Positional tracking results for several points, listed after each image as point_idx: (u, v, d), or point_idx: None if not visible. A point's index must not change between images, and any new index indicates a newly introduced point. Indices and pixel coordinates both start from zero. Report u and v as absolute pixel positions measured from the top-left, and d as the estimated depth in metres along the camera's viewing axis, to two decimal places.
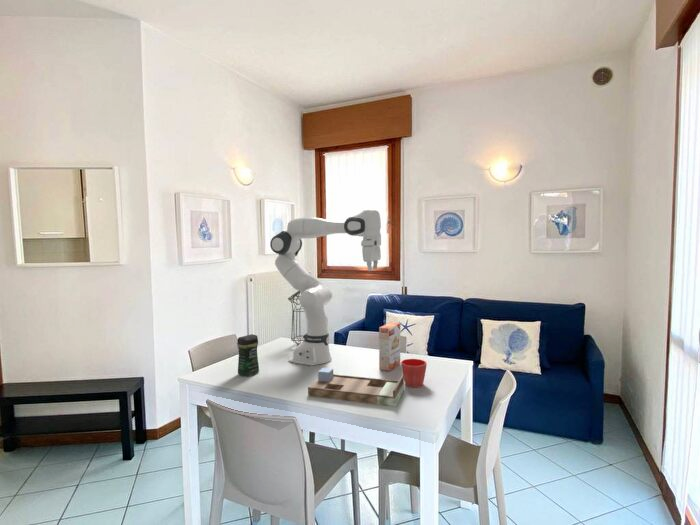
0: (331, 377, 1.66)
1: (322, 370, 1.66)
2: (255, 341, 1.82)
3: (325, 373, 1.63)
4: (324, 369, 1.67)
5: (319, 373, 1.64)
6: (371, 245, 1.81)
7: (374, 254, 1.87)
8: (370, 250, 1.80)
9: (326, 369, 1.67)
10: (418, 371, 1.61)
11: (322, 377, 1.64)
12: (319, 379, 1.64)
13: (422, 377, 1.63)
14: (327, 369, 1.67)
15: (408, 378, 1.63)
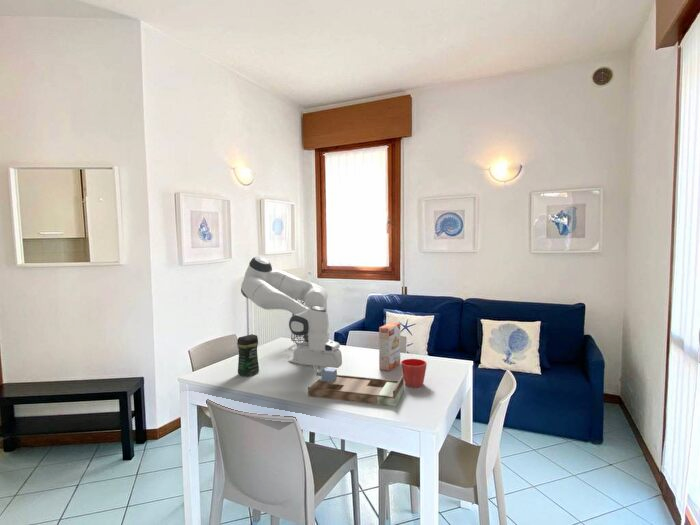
0: (334, 377, 1.65)
1: (325, 370, 1.65)
2: (255, 341, 1.82)
3: (328, 373, 1.63)
4: (327, 370, 1.66)
5: (322, 373, 1.64)
6: (338, 347, 1.65)
7: None
8: (340, 353, 1.65)
9: (329, 369, 1.66)
10: (418, 371, 1.61)
11: (326, 378, 1.63)
12: (322, 379, 1.64)
13: (422, 377, 1.63)
14: (330, 369, 1.67)
15: (408, 378, 1.63)
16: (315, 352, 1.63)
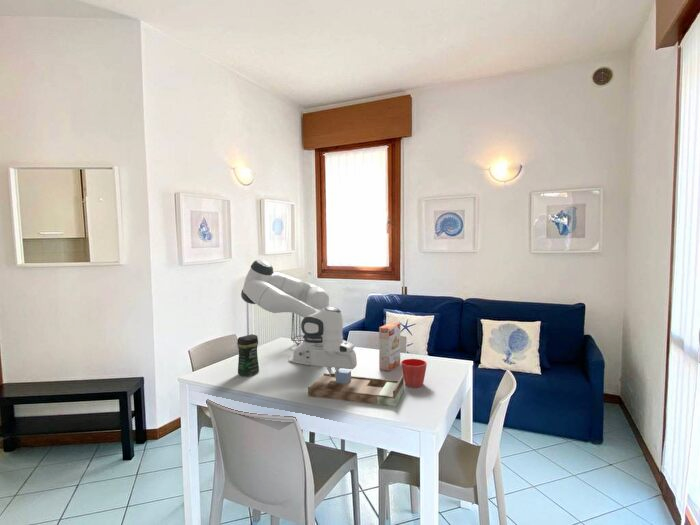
0: (349, 379, 1.63)
1: (340, 372, 1.63)
2: (255, 341, 1.82)
3: (343, 375, 1.61)
4: (341, 371, 1.64)
5: (336, 375, 1.62)
6: (353, 348, 1.63)
7: None
8: (355, 354, 1.63)
9: (343, 371, 1.64)
10: (418, 371, 1.61)
11: (340, 379, 1.61)
12: (337, 381, 1.62)
13: (422, 377, 1.63)
14: (345, 370, 1.65)
15: (408, 378, 1.63)
16: (329, 353, 1.61)
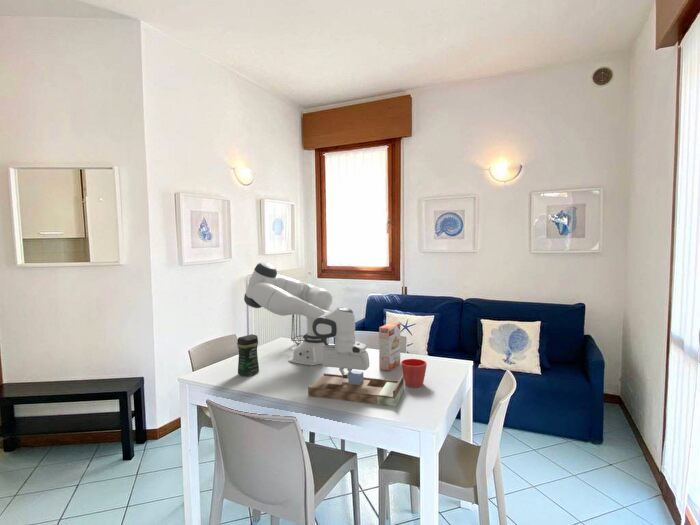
0: (361, 380, 1.61)
1: (352, 373, 1.61)
2: (255, 341, 1.82)
3: (355, 376, 1.59)
4: (354, 372, 1.62)
5: (349, 376, 1.60)
6: None
7: None
8: None
9: (356, 372, 1.62)
10: (418, 371, 1.61)
11: (353, 380, 1.60)
12: (349, 382, 1.60)
13: (422, 377, 1.63)
14: (357, 371, 1.63)
15: (408, 378, 1.63)
16: (342, 354, 1.60)
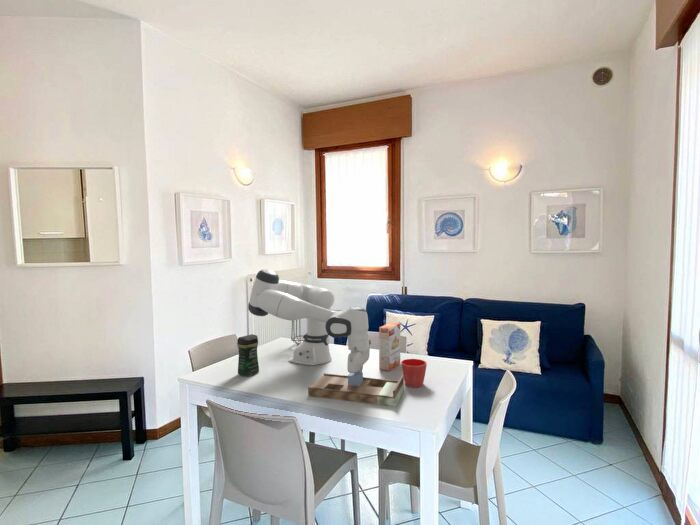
0: (361, 381, 1.60)
1: (351, 374, 1.60)
2: (255, 341, 1.82)
3: (355, 377, 1.58)
4: (353, 373, 1.61)
5: (348, 377, 1.59)
6: None
7: None
8: None
9: (355, 373, 1.61)
10: (418, 371, 1.61)
11: (352, 381, 1.58)
12: (349, 383, 1.59)
13: (422, 377, 1.63)
14: (356, 372, 1.62)
15: (408, 378, 1.63)
16: (365, 351, 1.63)
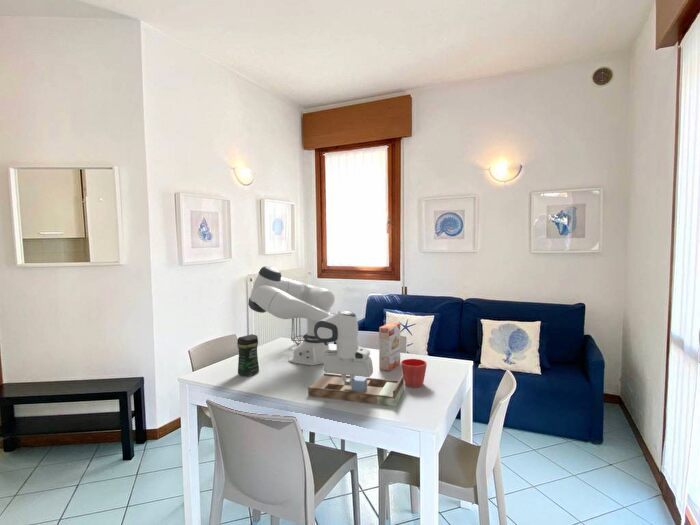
0: (365, 387, 1.54)
1: (355, 379, 1.54)
2: (255, 341, 1.82)
3: (359, 383, 1.51)
4: (357, 378, 1.55)
5: (352, 383, 1.52)
6: None
7: None
8: (371, 361, 1.53)
9: (359, 378, 1.55)
10: (418, 371, 1.61)
11: (356, 387, 1.52)
12: (352, 389, 1.53)
13: (422, 377, 1.63)
14: (360, 378, 1.55)
15: (408, 378, 1.63)
16: (344, 360, 1.52)
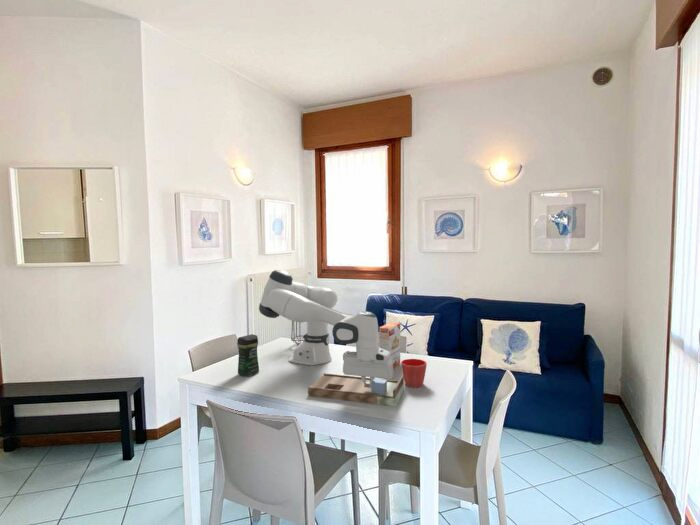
0: (385, 389, 1.51)
1: (375, 382, 1.51)
2: (255, 341, 1.82)
3: (379, 385, 1.48)
4: (377, 381, 1.52)
5: (372, 385, 1.50)
6: None
7: None
8: (392, 363, 1.50)
9: (379, 380, 1.52)
10: (418, 371, 1.61)
11: (376, 390, 1.49)
12: (372, 392, 1.50)
13: (422, 377, 1.63)
14: (380, 380, 1.52)
15: (408, 378, 1.63)
16: (364, 362, 1.49)
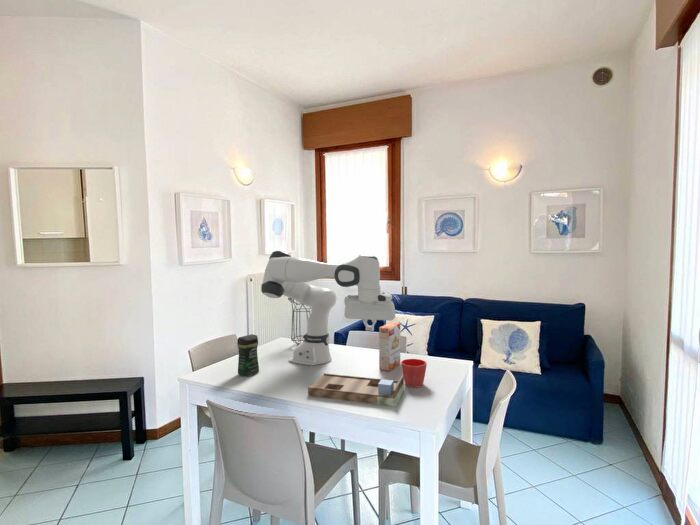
0: (392, 390, 1.50)
1: (382, 382, 1.50)
2: (255, 341, 1.82)
3: (386, 386, 1.48)
4: (383, 381, 1.51)
5: (379, 386, 1.49)
6: None
7: None
8: None
9: (386, 381, 1.51)
10: (418, 371, 1.61)
11: (383, 390, 1.48)
12: (379, 392, 1.49)
13: (422, 377, 1.63)
14: (387, 380, 1.52)
15: (408, 378, 1.63)
16: (366, 304, 1.48)
